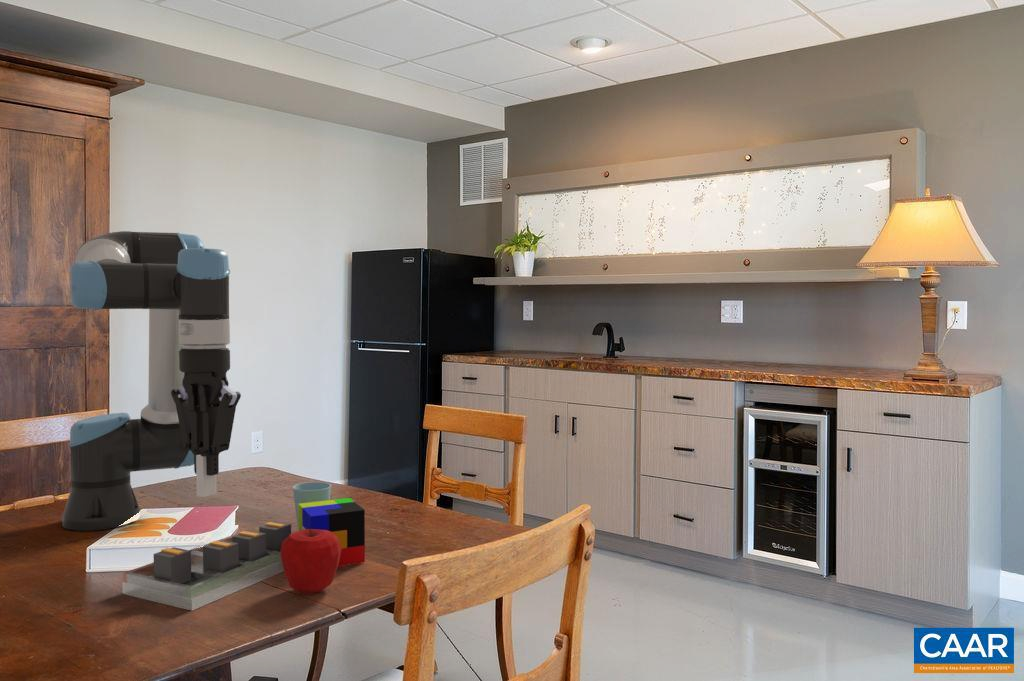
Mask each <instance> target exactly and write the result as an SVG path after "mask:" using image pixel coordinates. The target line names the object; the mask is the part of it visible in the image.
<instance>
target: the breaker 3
mask: <svg viewBox="0 0 1024 681" xmlns="http://www.w3.org/2000/svg"><path fill="white" fill-rule="evenodd" d="M238 533H239V534H238ZM238 533H237V534H238V535H235V534H234V535H235V536H232V535H231V536H232V542H234V543H238V554H239V559H240V560H245V561H250V562H253V561H255V560H258V559H260V558H263V557H265V556H266V533H260V532H259V531H253V530H247V531H246V530H242V531H240V532H238Z"/></svg>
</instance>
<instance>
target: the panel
mask: <svg viewBox="0 0 1024 681" xmlns="http://www.w3.org/2000/svg"><path fill="white" fill-rule="evenodd" d="M238 534H239V532H238V533H235V534H232V535H230V536H226V537H224V538H223V537H222V538H220V539H217V540H216V541H220V540H223V541H228V542H232V536H235V535H238ZM209 544H210V542H209V543H206V544H203V545H204V546H206V545H209ZM197 547H198V548H197ZM197 547H195V548H191V549H189V550H190V551H191V581H188V582H186V583H183V584H180V583H175V582H171V581H166V580H162V579H158V578H154V561H153V562H150V563H148V564H146V565H142V566H139V567H136V568H133V569H131V570H127V571H124V572H122V583H121V584H122V595H126V596H130V597H135V598H138V599H142V600H147V601H150V602H151V601H152V602H155V603H159V604H163V605H168V606H171V607H176V608H179V609H184V610H188V611H190V612H191V611H195V610H197V609H199V608H202V607H204V606H206V605H209V604H211V603H214V602H215V601H218V600H221V599H222V598H225V597H228V596H229V595H231V594H235V593H236V592H238V591H241V590H243V589H246V588H248V587H250V586H252V585H255V584H257V583H259V582H262V581H264V580H266V579H269V578H272V577H274V576H276V575H278V574H281V573H283V572H284V569H283V564H282V560H281V555H280V551H281V550H280V551H274V550H268V549H266V556H265V557H263V558H260V559H258V560H255V561H253V562H250V561H245V560H240V559H239V567H237V568H235V569H232V570H230V571H227V572H225V573H219V572H214V571H209V570H204V569H203V547H200V546H197ZM199 547H200V548H199Z"/></svg>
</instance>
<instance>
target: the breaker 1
mask: <svg viewBox="0 0 1024 681" xmlns="http://www.w3.org/2000/svg"><path fill="white" fill-rule="evenodd" d="M190 550H191V549H185V548H180V547H175V546H173V547H171V548H169V547H166V548H163V549H160V551H158V552H155V553H153V562H154V578H158V579H162V580H166V581H171V582H175V583H180V584H183V583H186V582H188V581H191V551H190Z"/></svg>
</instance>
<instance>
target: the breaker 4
mask: <svg viewBox="0 0 1024 681" xmlns="http://www.w3.org/2000/svg"><path fill="white" fill-rule="evenodd" d="M258 532H260V533H266V549H268V550H274V551H280V550H281V546H282V542H283V541H284V540H285V539H286V538H287V537H288V536H289V535H290V534H291V533H292V524H291V523H286V522H285V523H284V522H280V521H279V522H278V521H269V522H266V523H265V524H263V525H261V526H258Z"/></svg>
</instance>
